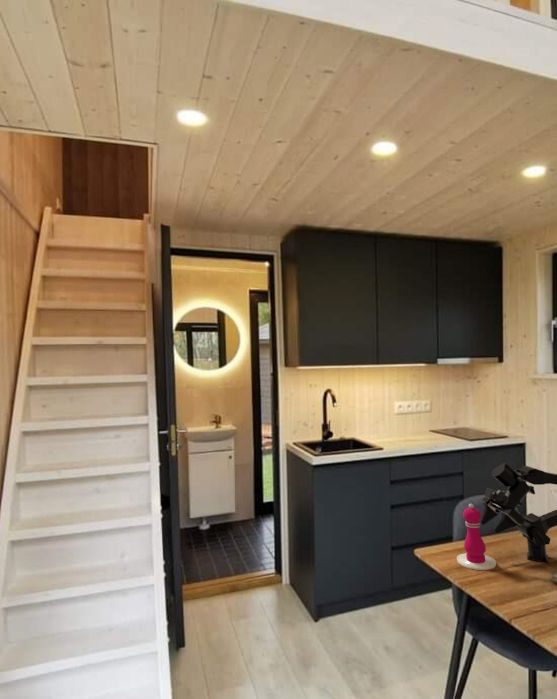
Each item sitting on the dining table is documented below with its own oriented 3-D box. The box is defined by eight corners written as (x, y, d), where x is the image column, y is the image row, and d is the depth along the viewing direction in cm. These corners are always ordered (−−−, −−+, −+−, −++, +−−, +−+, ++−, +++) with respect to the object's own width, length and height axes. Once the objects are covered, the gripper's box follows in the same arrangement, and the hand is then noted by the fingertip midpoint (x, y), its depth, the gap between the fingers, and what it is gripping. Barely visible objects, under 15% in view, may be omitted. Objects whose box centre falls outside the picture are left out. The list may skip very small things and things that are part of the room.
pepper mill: (470, 564, 152) (465, 507, 154) (461, 556, 159) (457, 501, 161) (490, 563, 152) (485, 506, 154) (481, 555, 159) (476, 500, 161)
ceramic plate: (460, 552, 164) (460, 550, 164) (497, 558, 158) (497, 556, 158) (454, 566, 153) (453, 563, 153) (494, 572, 147) (494, 570, 147)
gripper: (484, 475, 168) (459, 506, 166) (512, 486, 149) (485, 521, 148) (505, 494, 167) (481, 525, 166) (537, 507, 149) (509, 543, 147)
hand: (488, 528), depth 157 cm, fingers open, 9 cm apart
